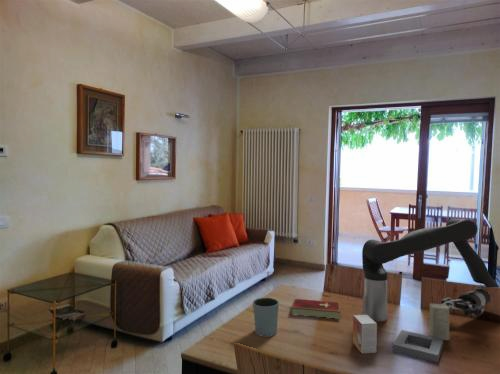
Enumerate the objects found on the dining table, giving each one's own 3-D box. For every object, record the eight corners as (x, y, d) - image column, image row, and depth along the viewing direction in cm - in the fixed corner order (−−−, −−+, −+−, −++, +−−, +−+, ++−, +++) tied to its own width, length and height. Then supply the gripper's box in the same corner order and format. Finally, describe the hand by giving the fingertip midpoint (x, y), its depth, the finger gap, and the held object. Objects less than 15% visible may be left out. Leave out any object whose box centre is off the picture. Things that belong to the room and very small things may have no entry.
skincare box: (447, 336, 138) (447, 304, 138) (449, 341, 134) (449, 308, 133) (428, 333, 140) (429, 302, 140) (430, 338, 136) (431, 306, 135)
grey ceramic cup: (282, 329, 144) (282, 299, 144) (273, 339, 135) (273, 308, 135) (259, 325, 149) (259, 296, 148) (248, 334, 139) (248, 304, 139)
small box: (352, 343, 132) (352, 314, 132) (367, 342, 133) (367, 314, 132) (361, 354, 124) (361, 323, 124) (376, 353, 125) (377, 323, 125)
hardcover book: (294, 306, 170) (294, 297, 170) (340, 310, 166) (340, 301, 165) (290, 316, 159) (290, 306, 159) (340, 320, 154) (340, 310, 154)
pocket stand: (392, 351, 126) (393, 344, 126) (401, 336, 138) (401, 329, 138) (438, 362, 118) (438, 355, 118) (442, 345, 130) (442, 339, 130)
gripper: (454, 288, 158) (435, 296, 149) (491, 296, 147) (473, 305, 137) (454, 305, 159) (435, 314, 149) (490, 315, 147) (473, 325, 138)
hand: (453, 310), depth 143 cm, fingers open, 8 cm apart
